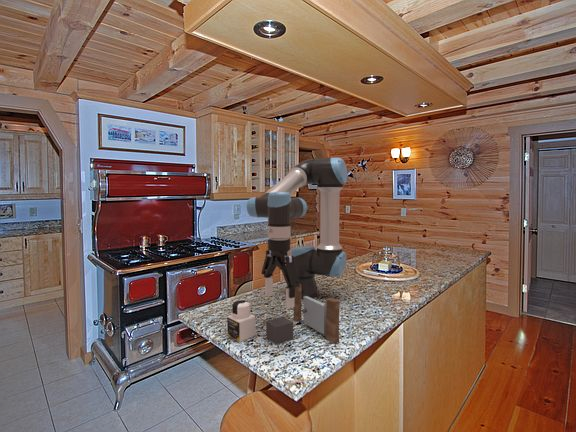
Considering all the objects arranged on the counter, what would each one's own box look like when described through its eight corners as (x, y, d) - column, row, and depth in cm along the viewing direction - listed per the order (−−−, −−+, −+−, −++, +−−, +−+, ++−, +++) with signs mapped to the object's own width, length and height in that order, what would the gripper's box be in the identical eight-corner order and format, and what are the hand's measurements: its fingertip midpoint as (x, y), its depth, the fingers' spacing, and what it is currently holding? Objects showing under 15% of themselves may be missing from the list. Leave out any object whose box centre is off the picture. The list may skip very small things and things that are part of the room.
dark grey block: (283, 332, 114) (283, 316, 114) (293, 339, 109) (293, 322, 109) (266, 337, 110) (266, 321, 110) (275, 345, 105) (275, 327, 105)
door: (307, 322, 122) (307, 294, 121) (330, 336, 110) (330, 304, 110) (300, 324, 120) (300, 295, 119) (323, 338, 109) (323, 306, 108)
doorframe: (298, 318, 127) (298, 283, 126) (339, 341, 107) (339, 300, 106) (293, 319, 125) (293, 284, 124) (333, 343, 106) (333, 302, 105)
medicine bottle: (227, 335, 112) (226, 302, 111) (243, 329, 117) (243, 297, 116) (239, 342, 107) (238, 307, 106) (256, 335, 112) (255, 302, 111)
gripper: (252, 235, 115) (252, 293, 117) (290, 244, 94) (290, 315, 96) (270, 233, 119) (270, 289, 121) (310, 242, 99) (310, 310, 100)
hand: (279, 301), depth 108 cm, fingers open, 13 cm apart
